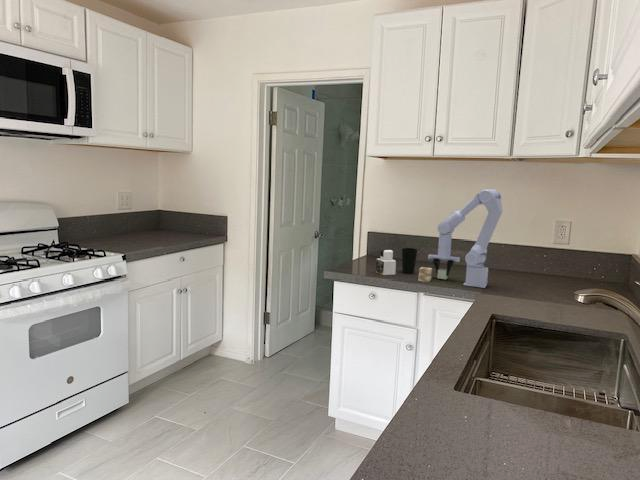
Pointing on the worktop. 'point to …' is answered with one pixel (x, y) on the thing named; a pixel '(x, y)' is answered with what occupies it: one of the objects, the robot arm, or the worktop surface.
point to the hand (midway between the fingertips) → (442, 275)
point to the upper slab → (425, 271)
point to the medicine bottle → (386, 263)
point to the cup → (408, 260)
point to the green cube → (442, 274)
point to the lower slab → (424, 278)
